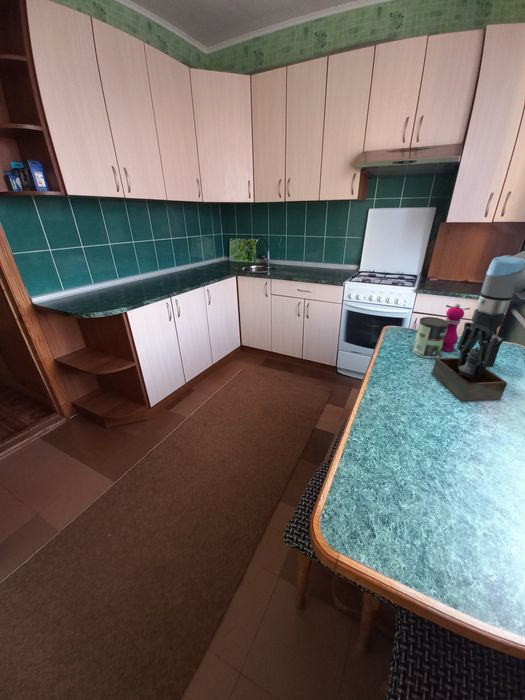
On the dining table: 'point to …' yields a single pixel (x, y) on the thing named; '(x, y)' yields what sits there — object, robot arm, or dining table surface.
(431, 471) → the dining table surface
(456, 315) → the pepper mill
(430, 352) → the coffee can
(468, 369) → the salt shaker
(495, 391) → the holder
